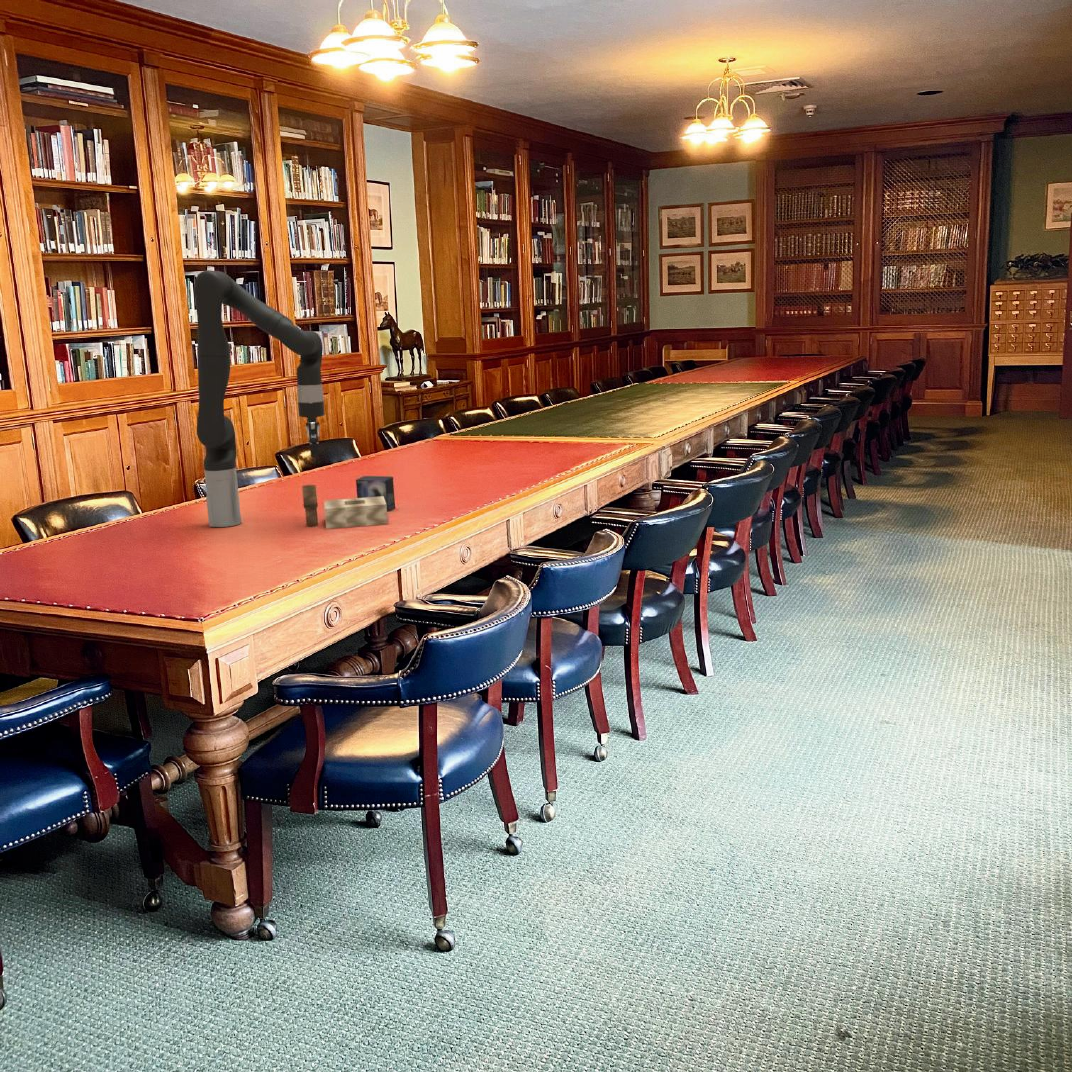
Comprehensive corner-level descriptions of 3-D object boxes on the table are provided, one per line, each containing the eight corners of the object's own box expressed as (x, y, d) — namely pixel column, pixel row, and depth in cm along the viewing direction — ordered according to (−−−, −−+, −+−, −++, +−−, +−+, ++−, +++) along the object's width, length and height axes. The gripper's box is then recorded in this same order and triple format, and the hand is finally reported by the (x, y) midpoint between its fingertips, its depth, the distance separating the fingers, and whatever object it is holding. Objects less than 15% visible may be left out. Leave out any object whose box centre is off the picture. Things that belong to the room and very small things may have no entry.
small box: (357, 511, 336) (354, 479, 333) (366, 507, 342) (363, 475, 339) (387, 512, 333) (385, 479, 330) (396, 508, 339) (393, 476, 336)
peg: (305, 527, 315) (301, 487, 312) (305, 524, 319) (301, 485, 316) (319, 526, 316) (316, 486, 313) (319, 523, 320) (316, 484, 317)
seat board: (326, 528, 311) (324, 508, 310) (325, 519, 325) (324, 500, 323) (387, 524, 315) (386, 504, 313) (384, 515, 328) (383, 496, 327)
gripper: (297, 398, 318) (301, 452, 321) (297, 402, 304) (301, 458, 308) (323, 397, 319) (326, 451, 323) (324, 401, 306) (328, 457, 309)
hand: (314, 454), depth 315 cm, fingers open, 8 cm apart
